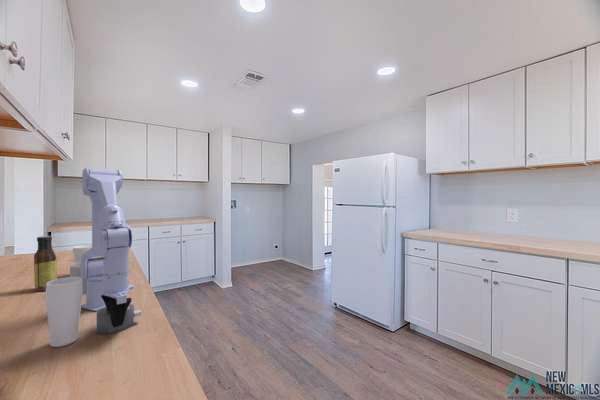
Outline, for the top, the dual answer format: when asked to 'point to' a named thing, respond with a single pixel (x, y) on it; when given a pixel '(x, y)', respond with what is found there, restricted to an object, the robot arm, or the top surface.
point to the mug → (78, 274)
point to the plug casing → (106, 325)
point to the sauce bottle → (44, 263)
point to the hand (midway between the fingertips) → (115, 322)
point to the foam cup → (81, 252)
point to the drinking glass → (64, 309)
